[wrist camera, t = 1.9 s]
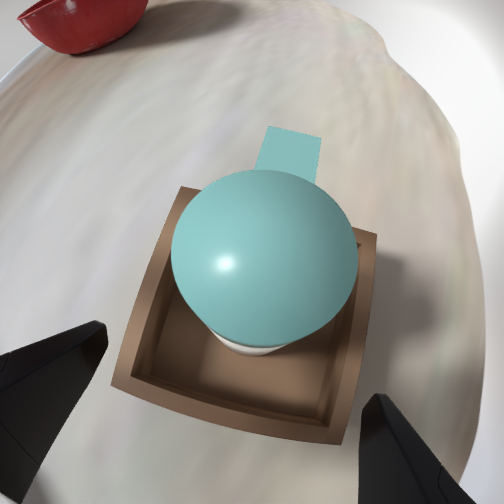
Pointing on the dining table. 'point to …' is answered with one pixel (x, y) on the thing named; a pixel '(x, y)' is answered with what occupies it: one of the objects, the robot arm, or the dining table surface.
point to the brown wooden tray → (244, 357)
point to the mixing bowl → (81, 22)
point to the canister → (266, 250)
